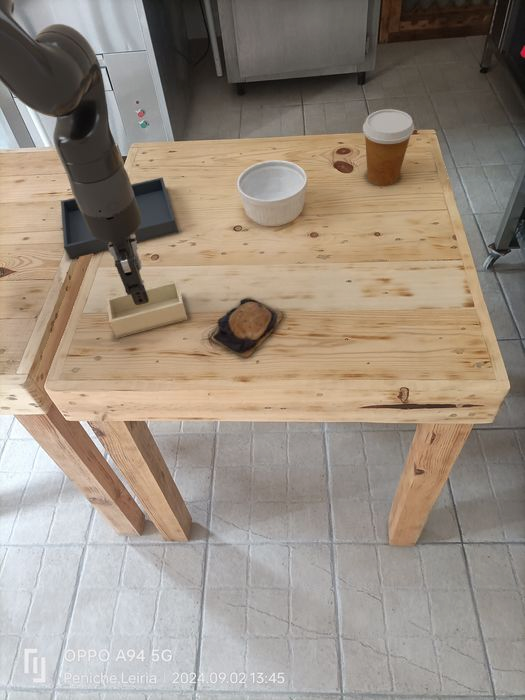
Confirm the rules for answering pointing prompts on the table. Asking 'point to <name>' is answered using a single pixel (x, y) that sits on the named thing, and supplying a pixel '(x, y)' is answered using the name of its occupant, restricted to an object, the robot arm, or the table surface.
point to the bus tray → (153, 225)
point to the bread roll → (246, 327)
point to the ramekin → (273, 192)
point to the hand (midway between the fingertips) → (138, 284)
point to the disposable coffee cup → (386, 144)
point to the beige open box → (146, 310)
